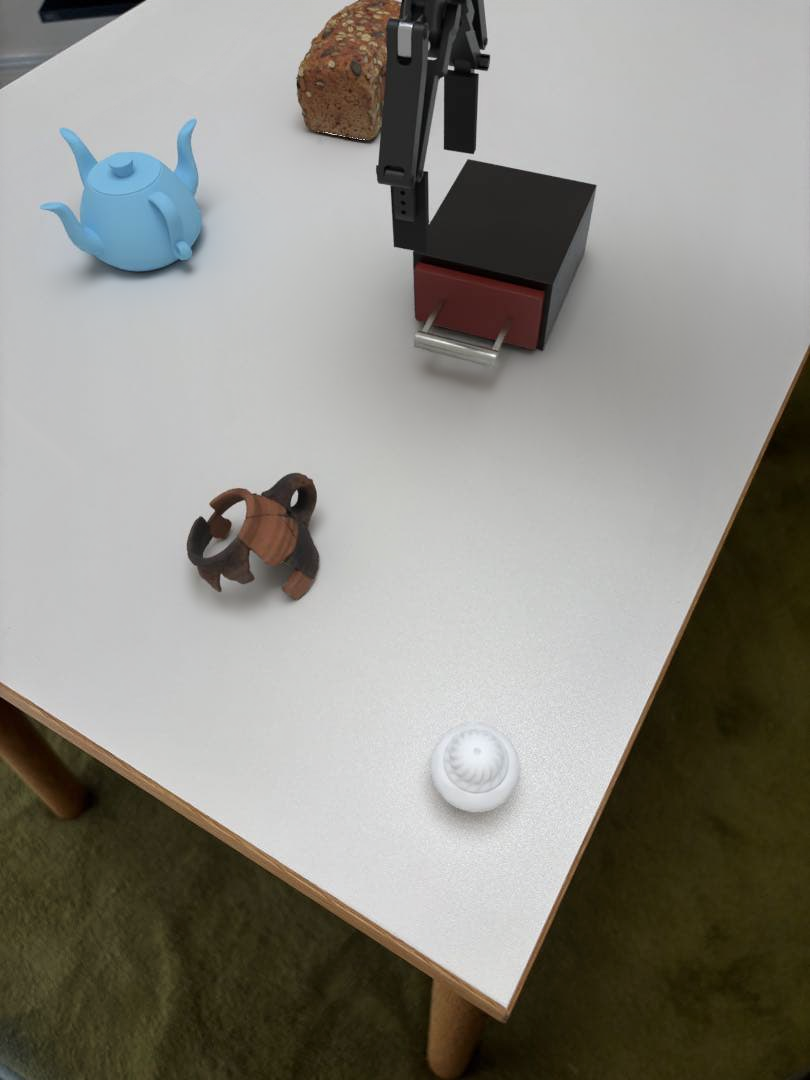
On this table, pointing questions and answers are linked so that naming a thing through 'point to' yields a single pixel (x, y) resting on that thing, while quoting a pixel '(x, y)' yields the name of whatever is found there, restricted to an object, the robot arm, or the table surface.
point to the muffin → (475, 767)
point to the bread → (347, 71)
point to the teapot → (134, 206)
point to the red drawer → (474, 312)
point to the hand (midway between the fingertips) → (436, 196)
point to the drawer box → (513, 231)
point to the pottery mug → (260, 535)
